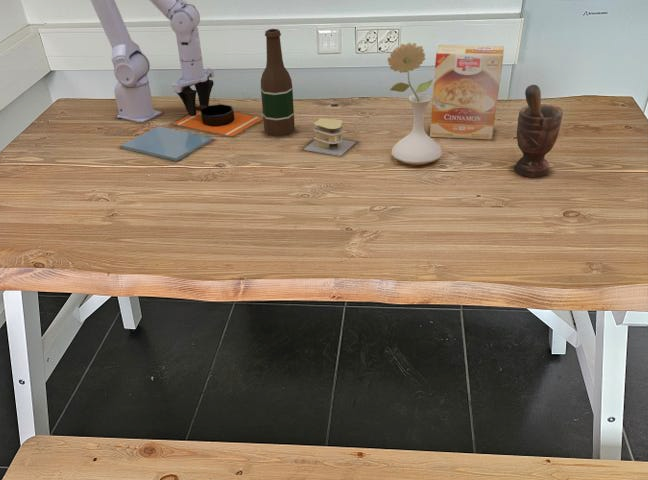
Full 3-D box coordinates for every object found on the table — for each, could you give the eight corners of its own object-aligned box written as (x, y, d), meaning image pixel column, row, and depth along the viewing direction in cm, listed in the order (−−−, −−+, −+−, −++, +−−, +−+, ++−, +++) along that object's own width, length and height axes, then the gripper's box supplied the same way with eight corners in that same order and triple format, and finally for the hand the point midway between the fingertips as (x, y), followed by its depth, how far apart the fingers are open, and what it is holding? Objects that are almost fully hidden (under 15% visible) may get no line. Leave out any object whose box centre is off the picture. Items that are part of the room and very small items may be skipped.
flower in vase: (444, 150, 159) (454, 35, 143) (438, 171, 151) (448, 51, 135) (388, 147, 162) (392, 34, 146) (380, 167, 154) (382, 49, 138)
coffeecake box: (429, 137, 166) (435, 52, 153) (431, 126, 171) (438, 43, 159) (492, 140, 163) (503, 54, 150) (493, 129, 168) (504, 45, 156)
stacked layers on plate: (302, 149, 164) (301, 127, 160) (319, 136, 170) (318, 114, 166) (340, 156, 160) (340, 133, 156) (356, 142, 166) (356, 119, 162)
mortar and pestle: (549, 187, 142) (568, 89, 130) (507, 183, 145) (521, 86, 132) (552, 164, 151) (570, 70, 138) (512, 161, 153) (526, 68, 140)
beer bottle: (296, 126, 175) (291, 25, 160) (293, 138, 170) (287, 34, 154) (266, 126, 176) (258, 26, 161) (262, 138, 170) (253, 35, 155)
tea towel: (172, 124, 181) (172, 123, 180) (205, 107, 190) (205, 106, 189) (232, 137, 172) (232, 136, 172) (264, 119, 181) (264, 117, 180)
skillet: (240, 117, 181) (239, 106, 179) (220, 128, 176) (219, 116, 174) (199, 109, 188) (197, 98, 186) (179, 119, 182) (177, 108, 180)
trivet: (121, 148, 170) (120, 145, 169) (159, 129, 179) (158, 126, 178) (176, 161, 162) (175, 158, 161) (213, 140, 171) (212, 137, 170)
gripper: (184, 68, 168) (192, 123, 176) (220, 52, 177) (226, 105, 185) (162, 65, 171) (171, 119, 179) (199, 49, 180) (206, 101, 188)
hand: (198, 112), depth 182 cm, fingers open, 5 cm apart
